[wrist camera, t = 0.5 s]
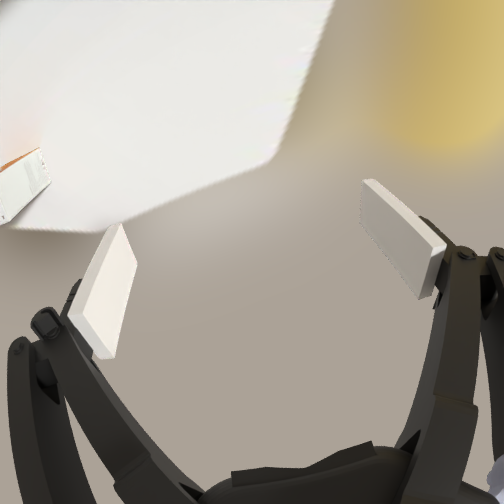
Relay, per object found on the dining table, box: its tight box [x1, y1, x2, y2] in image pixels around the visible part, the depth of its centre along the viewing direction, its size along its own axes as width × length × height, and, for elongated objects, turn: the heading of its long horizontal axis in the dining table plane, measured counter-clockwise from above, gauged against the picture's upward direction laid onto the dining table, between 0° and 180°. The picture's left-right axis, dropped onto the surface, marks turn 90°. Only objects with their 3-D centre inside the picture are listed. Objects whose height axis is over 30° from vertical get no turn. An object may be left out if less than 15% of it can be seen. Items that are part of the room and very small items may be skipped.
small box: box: [0, 147, 51, 225], centre depth 30 cm, size 8×6×13 cm
